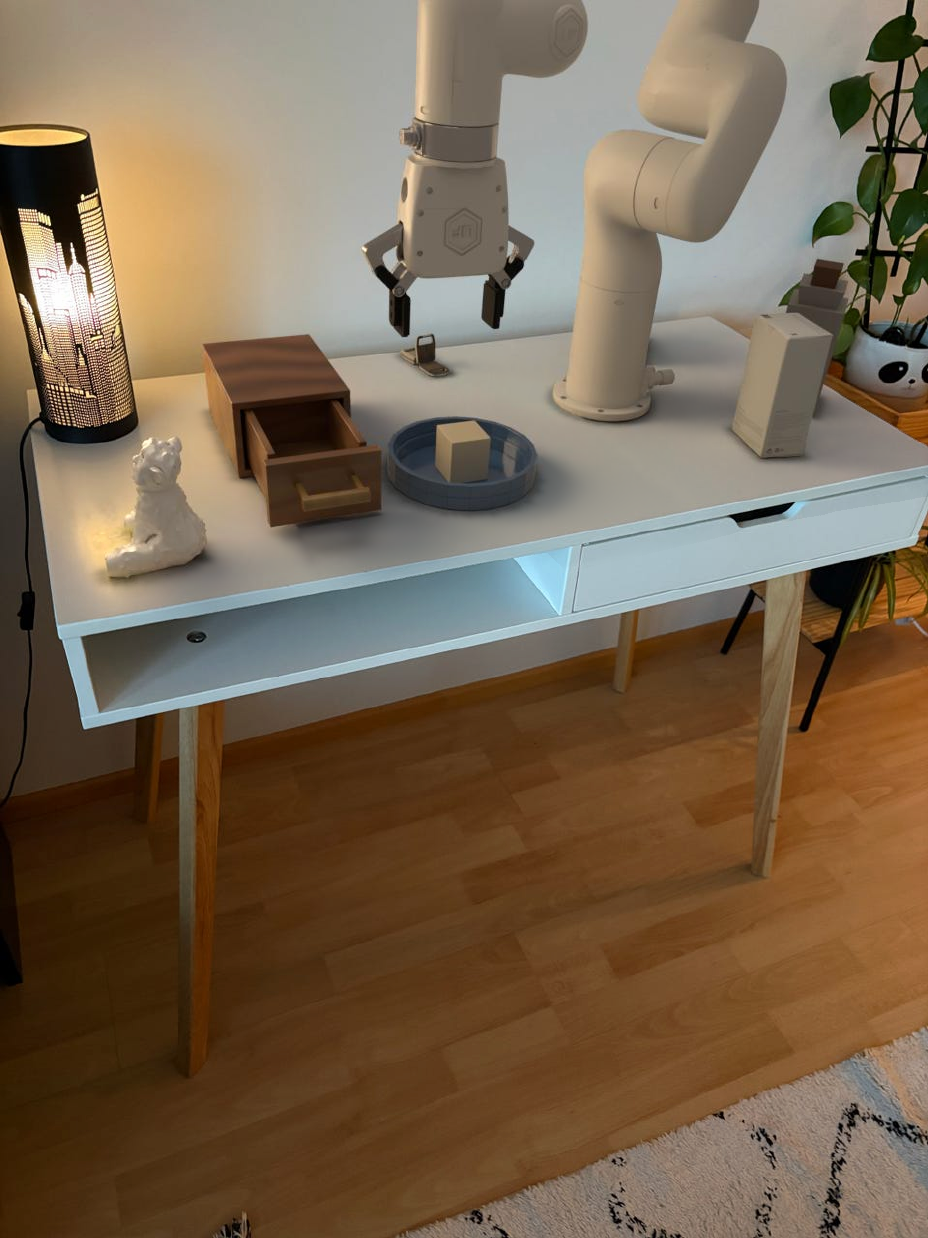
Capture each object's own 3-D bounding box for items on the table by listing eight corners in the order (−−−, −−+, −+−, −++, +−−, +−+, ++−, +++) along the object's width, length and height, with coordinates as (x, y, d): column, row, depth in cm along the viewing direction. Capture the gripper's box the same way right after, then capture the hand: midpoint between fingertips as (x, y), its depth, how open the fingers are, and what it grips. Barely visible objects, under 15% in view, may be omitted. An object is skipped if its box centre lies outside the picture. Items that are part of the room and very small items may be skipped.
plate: (497, 433, 114) (499, 409, 112) (559, 500, 103) (562, 473, 101) (368, 451, 109) (368, 425, 107) (417, 523, 97) (418, 496, 95)
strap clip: (398, 355, 132) (398, 325, 129) (416, 351, 133) (417, 322, 131) (432, 378, 126) (433, 347, 124) (451, 373, 128) (452, 343, 125)
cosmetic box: (802, 457, 114) (839, 336, 105) (757, 459, 113) (790, 337, 104) (770, 425, 121) (801, 309, 112) (726, 428, 119) (755, 310, 110)
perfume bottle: (760, 406, 125) (797, 266, 114) (768, 387, 130) (804, 252, 119) (813, 417, 123) (856, 276, 113) (818, 397, 129) (859, 261, 118)
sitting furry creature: (130, 524, 94) (110, 411, 87) (218, 528, 94) (206, 416, 87) (102, 579, 86) (78, 461, 79) (199, 583, 87) (183, 465, 79)
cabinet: (351, 462, 107) (350, 389, 101) (238, 477, 102) (231, 403, 97) (311, 401, 119) (309, 333, 113) (209, 412, 114) (201, 343, 109)
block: (471, 460, 108) (474, 419, 105) (487, 479, 105) (491, 437, 102) (434, 465, 106) (436, 424, 103) (449, 485, 103) (452, 443, 100)
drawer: (395, 531, 94) (396, 470, 90) (281, 550, 90) (276, 487, 86) (337, 442, 108) (336, 386, 104) (237, 455, 104) (231, 397, 100)
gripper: (376, 152, 80) (375, 349, 90) (560, 149, 86) (539, 334, 96) (351, 134, 86) (352, 321, 96) (524, 132, 91) (509, 309, 102)
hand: (446, 328), depth 96 cm, fingers open, 9 cm apart
